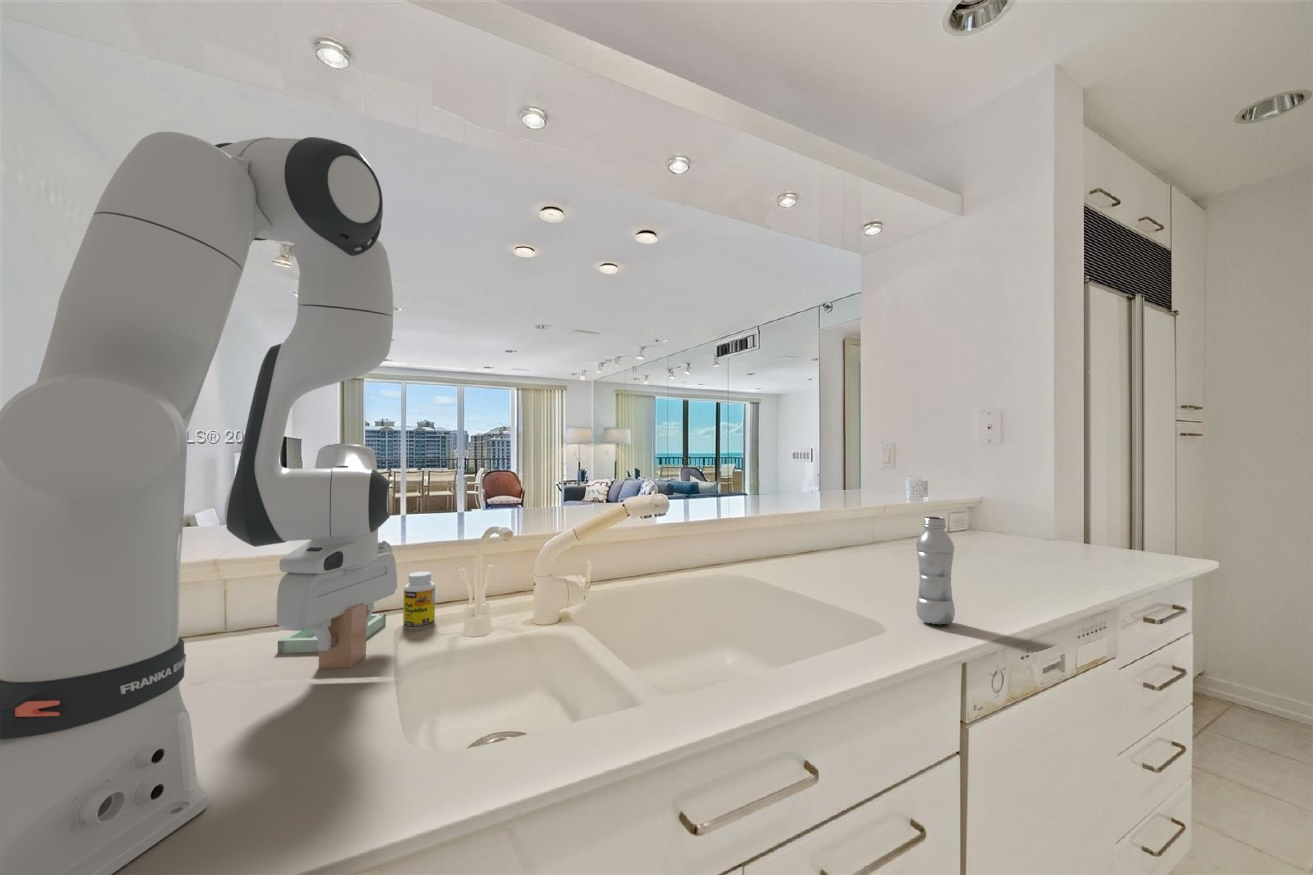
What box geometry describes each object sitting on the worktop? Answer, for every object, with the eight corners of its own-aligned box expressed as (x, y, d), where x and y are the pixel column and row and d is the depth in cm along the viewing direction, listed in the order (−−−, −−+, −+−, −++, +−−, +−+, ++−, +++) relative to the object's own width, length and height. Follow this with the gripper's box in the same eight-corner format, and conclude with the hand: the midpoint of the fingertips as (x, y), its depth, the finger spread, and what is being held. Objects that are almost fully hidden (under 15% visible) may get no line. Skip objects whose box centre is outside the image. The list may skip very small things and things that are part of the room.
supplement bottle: (398, 632, 94) (399, 577, 94) (408, 622, 99) (409, 570, 100) (429, 631, 95) (430, 576, 95) (438, 621, 100) (438, 570, 100)
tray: (349, 654, 84) (350, 639, 84) (277, 656, 83) (277, 640, 83) (385, 627, 97) (385, 613, 97) (323, 628, 96) (323, 615, 96)
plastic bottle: (908, 621, 101) (907, 516, 101) (932, 616, 104) (931, 515, 104) (938, 631, 95) (937, 520, 96) (963, 626, 98) (962, 519, 98)
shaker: (350, 670, 78) (351, 601, 78) (318, 671, 77) (319, 602, 78) (365, 658, 82) (366, 593, 83) (335, 659, 82) (336, 593, 82)
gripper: (374, 538, 91) (373, 618, 91) (268, 562, 71) (266, 665, 71) (407, 539, 90) (406, 620, 90) (308, 564, 70) (306, 669, 69)
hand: (343, 640), depth 80 cm, fingers closed on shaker, 5 cm apart
